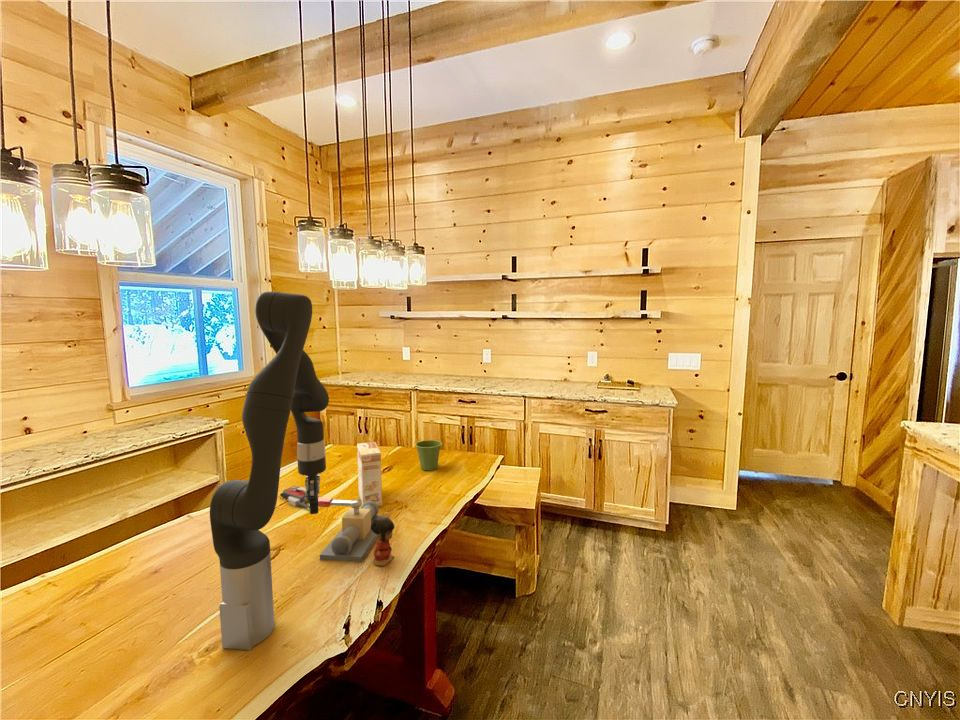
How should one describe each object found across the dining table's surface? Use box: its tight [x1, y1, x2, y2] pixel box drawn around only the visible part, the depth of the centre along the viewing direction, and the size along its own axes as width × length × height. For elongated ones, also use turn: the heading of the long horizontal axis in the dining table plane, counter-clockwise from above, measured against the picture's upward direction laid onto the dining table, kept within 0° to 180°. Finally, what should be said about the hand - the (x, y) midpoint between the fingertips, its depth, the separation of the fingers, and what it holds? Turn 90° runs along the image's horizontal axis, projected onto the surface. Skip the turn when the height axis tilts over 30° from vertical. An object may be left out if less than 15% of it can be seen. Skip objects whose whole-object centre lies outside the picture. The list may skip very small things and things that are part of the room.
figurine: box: [371, 517, 395, 567], centre depth 114 cm, size 6×6×12 cm
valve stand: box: [319, 501, 390, 563], centre depth 126 cm, size 24×12×10 cm, turn 175°
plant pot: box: [414, 439, 443, 471], centre depth 184 cm, size 12×12×11 cm
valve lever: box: [318, 496, 362, 508], centre depth 126 cm, size 16×3×2 cm, turn 85°
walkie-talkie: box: [279, 485, 310, 509], centre depth 152 cm, size 9×4×20 cm
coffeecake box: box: [356, 441, 383, 507], centre depth 153 cm, size 15×7×20 cm, turn 22°
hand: (314, 512), depth 121 cm, fingers closed
